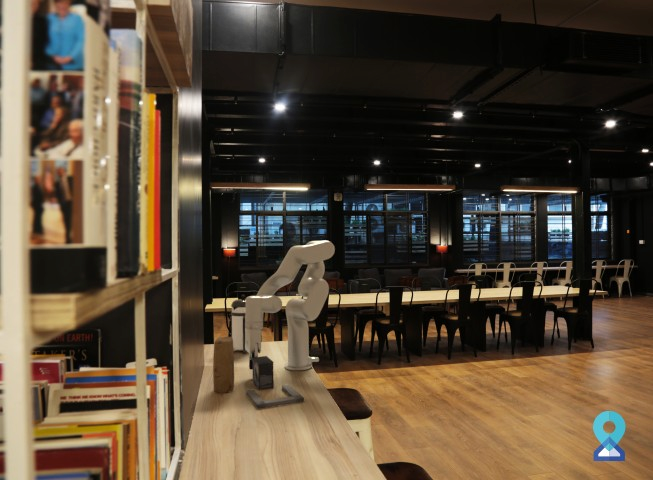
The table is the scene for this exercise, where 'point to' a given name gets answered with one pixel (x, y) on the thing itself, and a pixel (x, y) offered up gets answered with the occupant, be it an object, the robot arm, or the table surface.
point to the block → (223, 365)
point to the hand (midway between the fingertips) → (253, 368)
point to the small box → (263, 372)
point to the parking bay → (259, 403)
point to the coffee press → (238, 324)
